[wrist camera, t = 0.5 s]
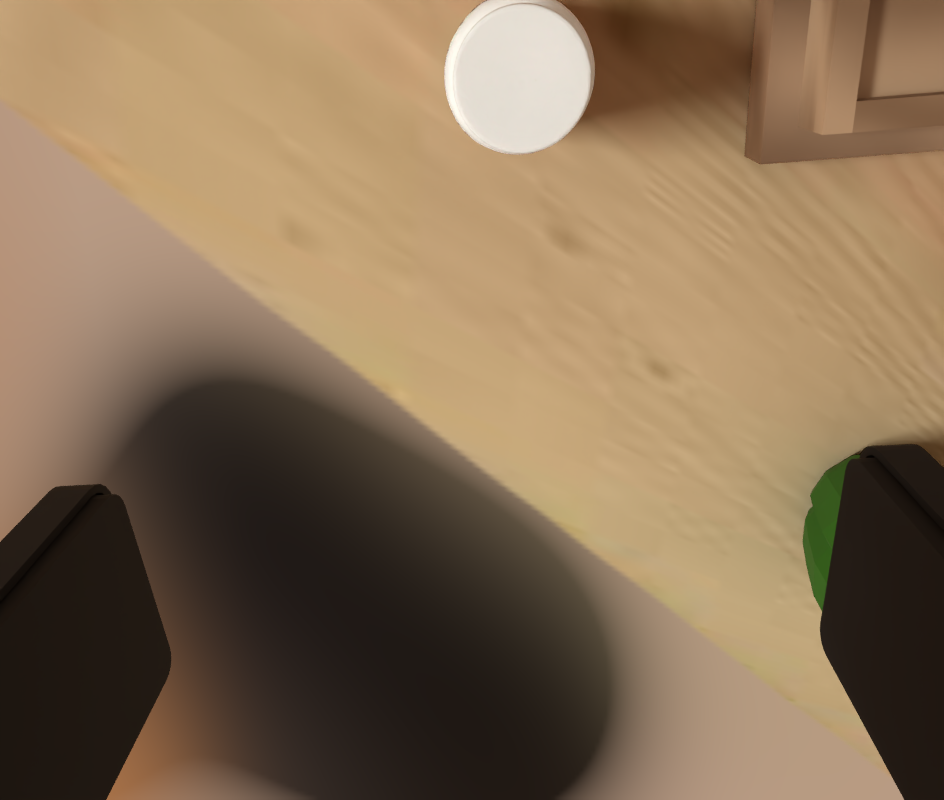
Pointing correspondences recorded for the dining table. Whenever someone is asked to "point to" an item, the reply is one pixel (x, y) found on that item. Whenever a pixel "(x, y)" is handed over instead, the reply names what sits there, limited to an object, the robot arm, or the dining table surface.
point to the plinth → (845, 79)
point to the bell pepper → (823, 527)
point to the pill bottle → (519, 74)
